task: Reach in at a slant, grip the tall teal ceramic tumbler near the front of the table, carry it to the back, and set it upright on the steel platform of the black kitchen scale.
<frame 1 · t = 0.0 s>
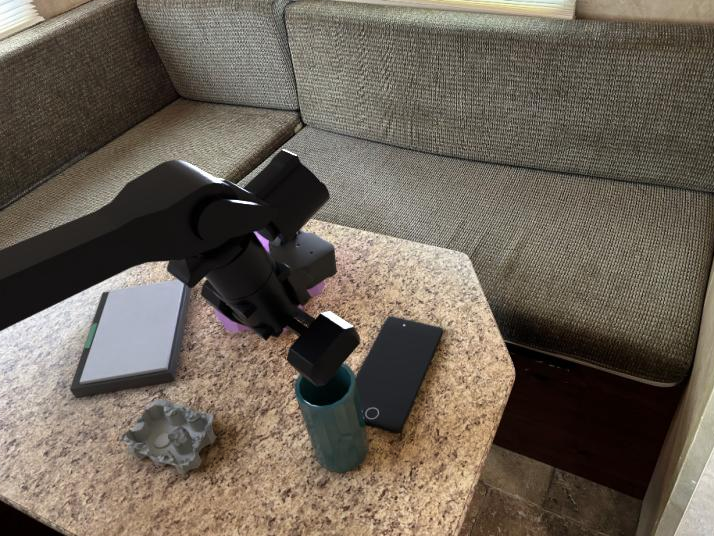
hand: (306, 352, 68), 16 cm above the table, tool pointing down, fingers open, 9 cm apart
egg carton: (175, 443, 79), on the table
scale: (138, 337, 94), on the table
teakettle: (268, 299, 98), on the table
tumbler: (342, 447, 76), on the table
cell phone: (394, 373, 84), on the table
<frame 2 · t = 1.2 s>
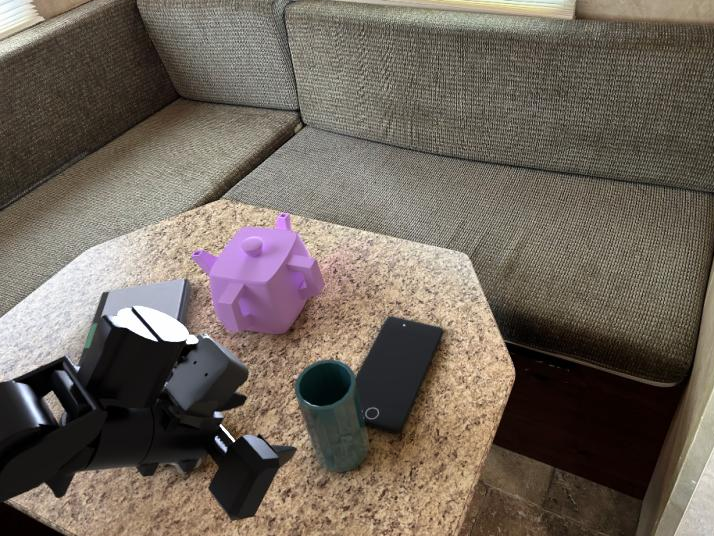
hand: (268, 425, 64), 13 cm above the table, tool tilted 45°, fingers open, 9 cm apart
nothing on the table moved.
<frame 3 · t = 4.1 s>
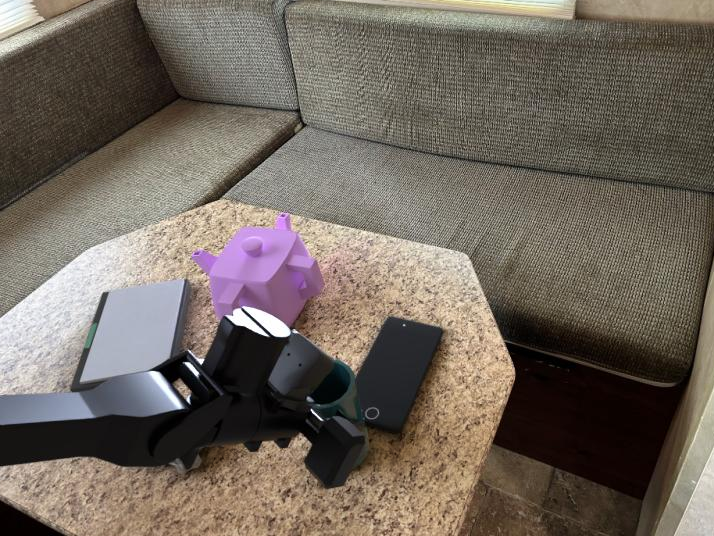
hand: (343, 408, 72), 7 cm above the table, tool tilted 45°, fingers closed on tumbler, 7 cm apart
tumbler: (342, 447, 76), on the table, touching gripper
everything else where it was.
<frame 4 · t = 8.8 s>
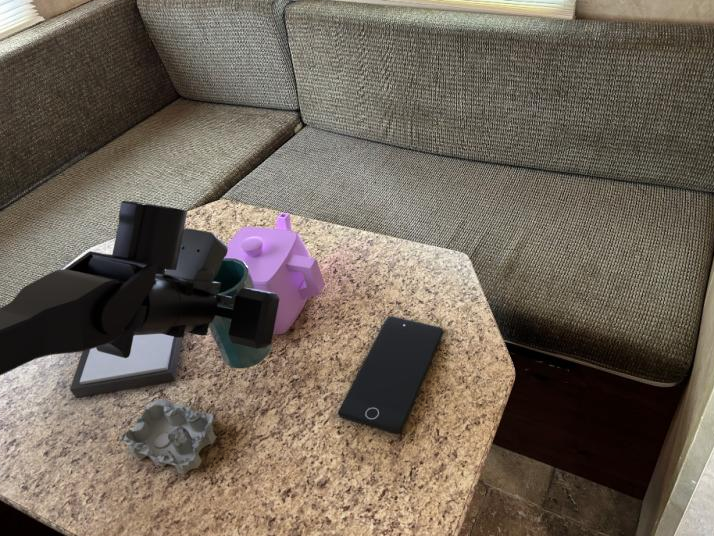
hand: (239, 305, 78), 14 cm above the table, tool tilted 45°, fingers closed on tumbler, 7 cm apart
tumbler: (247, 348, 81), point 7 cm above the table, touching gripper
everything else where it was.
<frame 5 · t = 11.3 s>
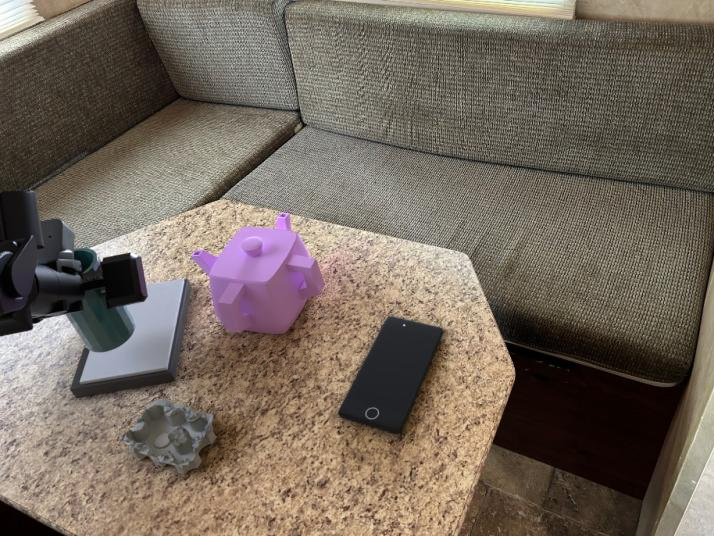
hand: (92, 293, 82), 13 cm above the table, tool tilted 45°, fingers closed on tumbler, 7 cm apart
tumbler: (110, 333, 85), point 7 cm above the table, touching gripper
everything else where it was.
when the fingers open (9 cm above the table, at t = 13.5 s): tumbler stays where it is, resting on scale.
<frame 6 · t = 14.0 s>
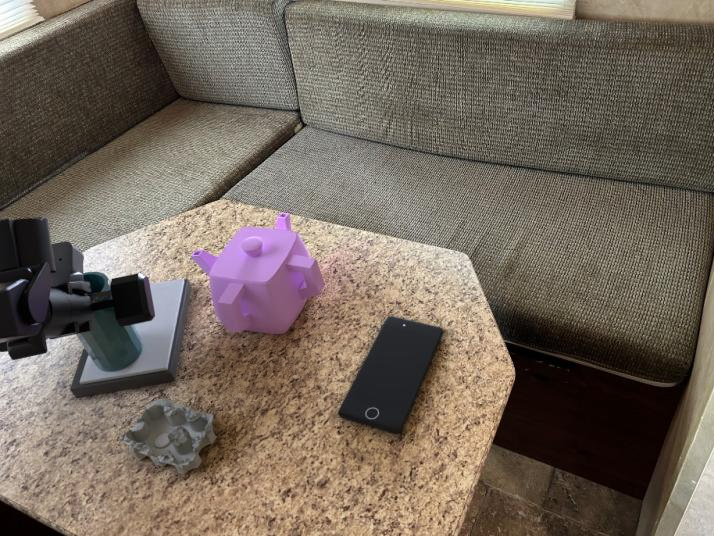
hand: (100, 311, 85), 10 cm above the table, tool tilted 45°, fingers open, 9 cm apart
tumbler: (119, 353, 88), point 3 cm above the table, touching scale
everything else where it was.
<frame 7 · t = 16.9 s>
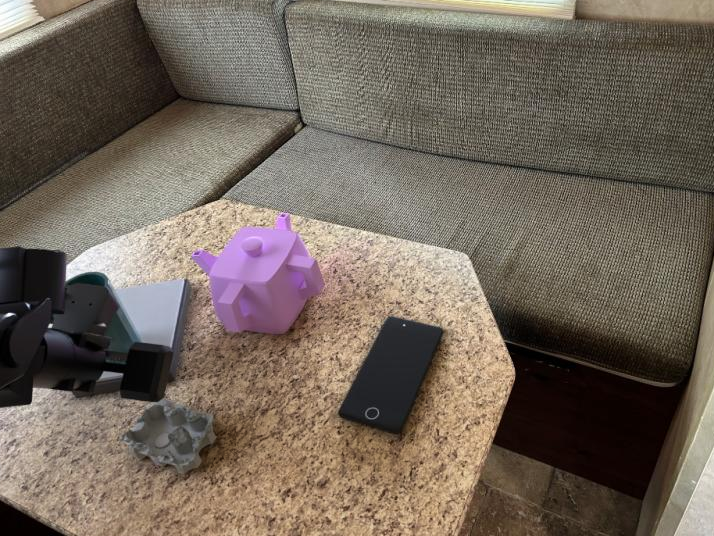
hand: (120, 368, 76), 10 cm above the table, tool tilted 35°, fingers open, 9 cm apart
nothing on the table moved.
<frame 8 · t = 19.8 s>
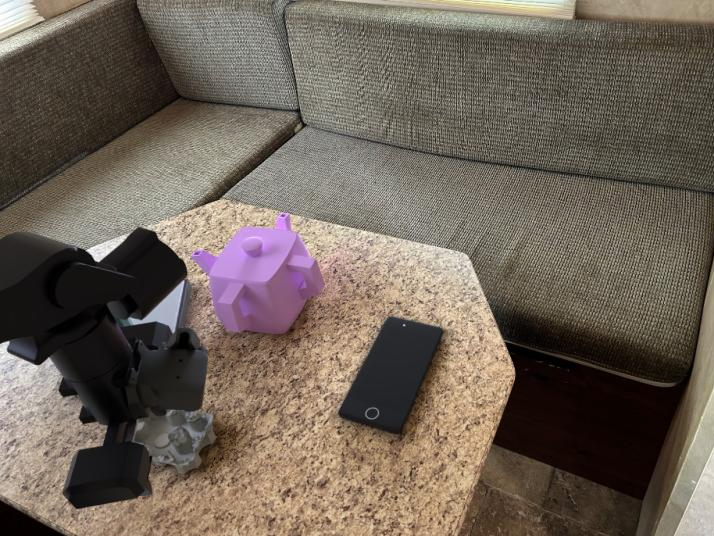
hand: (155, 452, 63), 13 cm above the table, tool pointing down, fingers open, 9 cm apart
nothing on the table moved.
at the end: tumbler inside the target area on the scale (3.0 cm from its centre), point 2.6 cm above the scale's base; tumbler tilted 0° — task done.
